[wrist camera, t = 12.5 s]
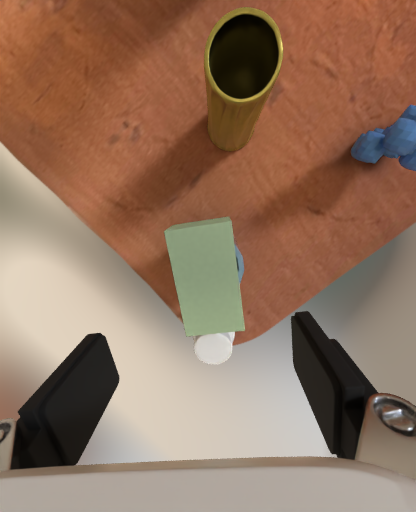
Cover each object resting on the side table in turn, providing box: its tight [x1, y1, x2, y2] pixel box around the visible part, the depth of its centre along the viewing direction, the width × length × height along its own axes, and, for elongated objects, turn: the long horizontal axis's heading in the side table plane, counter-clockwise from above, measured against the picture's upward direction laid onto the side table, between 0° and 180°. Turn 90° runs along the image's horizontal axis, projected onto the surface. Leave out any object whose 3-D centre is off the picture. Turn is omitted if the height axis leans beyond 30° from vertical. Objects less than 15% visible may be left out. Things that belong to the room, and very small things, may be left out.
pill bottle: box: [193, 332, 235, 365], centre depth 30 cm, size 6×6×10 cm
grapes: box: [351, 105, 416, 171], centre depth 22 cm, size 12×7×12 cm, turn 112°
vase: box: [204, 7, 283, 151], centre depth 21 cm, size 6×6×14 cm
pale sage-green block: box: [164, 217, 245, 336], centre depth 22 cm, size 11×6×4 cm, turn 9°
